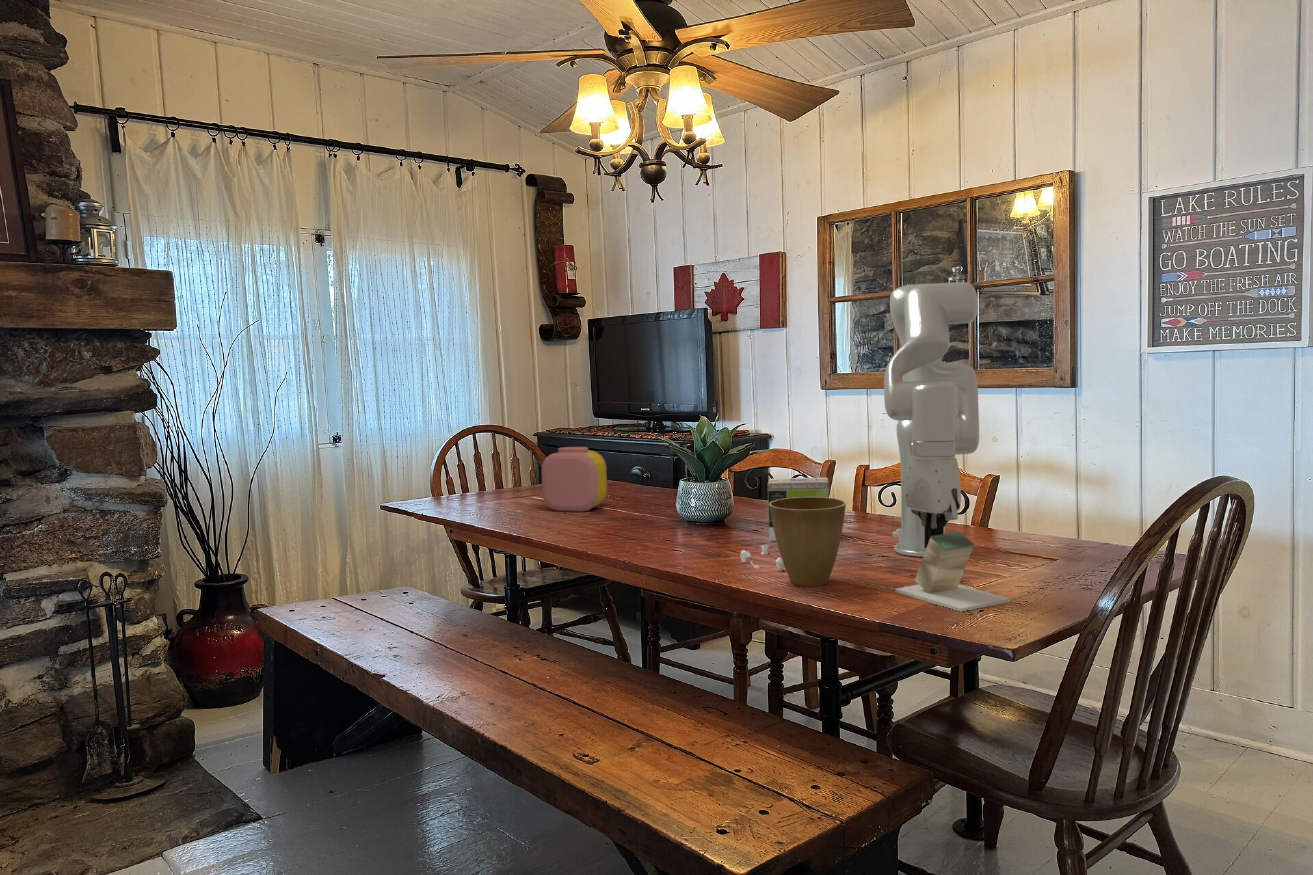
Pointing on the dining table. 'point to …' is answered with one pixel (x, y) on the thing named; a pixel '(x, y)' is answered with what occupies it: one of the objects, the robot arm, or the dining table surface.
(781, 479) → the tea box
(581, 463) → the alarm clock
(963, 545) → the beige and green box
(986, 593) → the rubber mat
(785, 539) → the plant pot
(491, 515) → the dining table surface
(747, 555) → the game piece set
